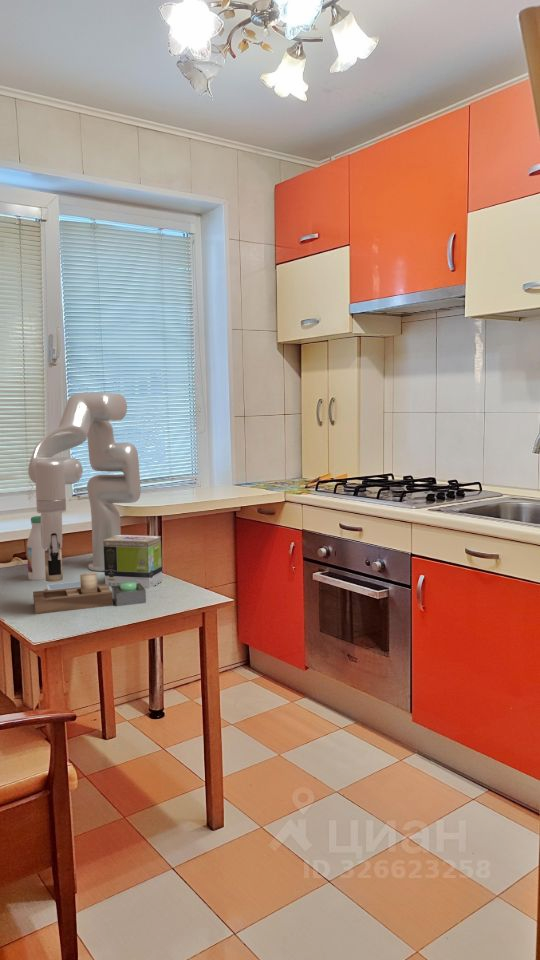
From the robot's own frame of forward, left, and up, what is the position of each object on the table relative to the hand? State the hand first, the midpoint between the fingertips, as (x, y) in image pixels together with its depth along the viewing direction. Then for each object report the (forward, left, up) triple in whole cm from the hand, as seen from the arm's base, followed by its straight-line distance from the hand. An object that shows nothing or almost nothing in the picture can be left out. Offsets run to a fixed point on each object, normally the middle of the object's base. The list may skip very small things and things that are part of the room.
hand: (54, 572), depth 190 cm
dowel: (0, 0, -2) cm, 2 cm away
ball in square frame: (+2, +20, -10) cm, 22 cm away
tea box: (-17, +25, -10) cm, 32 cm away
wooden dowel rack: (0, +5, -10) cm, 11 cm away
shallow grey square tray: (-13, +6, -10) cm, 18 cm away
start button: (+2, +20, -8) cm, 21 cm away
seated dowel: (0, +9, -10) cm, 13 cm away
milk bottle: (-36, -1, -10) cm, 38 cm away
